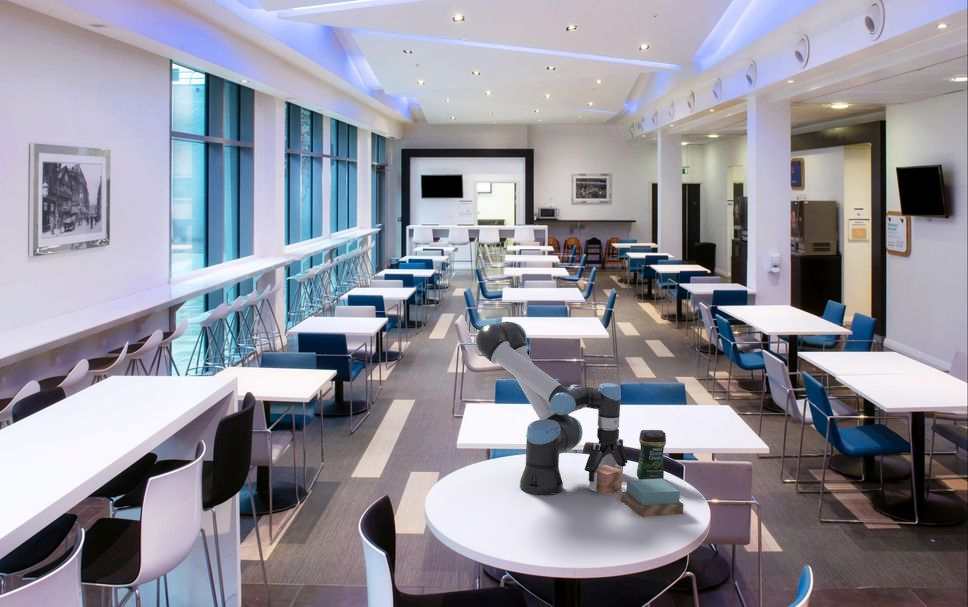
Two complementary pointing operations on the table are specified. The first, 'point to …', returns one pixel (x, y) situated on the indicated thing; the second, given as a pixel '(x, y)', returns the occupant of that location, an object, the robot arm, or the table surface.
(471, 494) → the table surface
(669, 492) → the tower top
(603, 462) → the can
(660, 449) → the coffee jar
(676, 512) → the tower base
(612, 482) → the block
